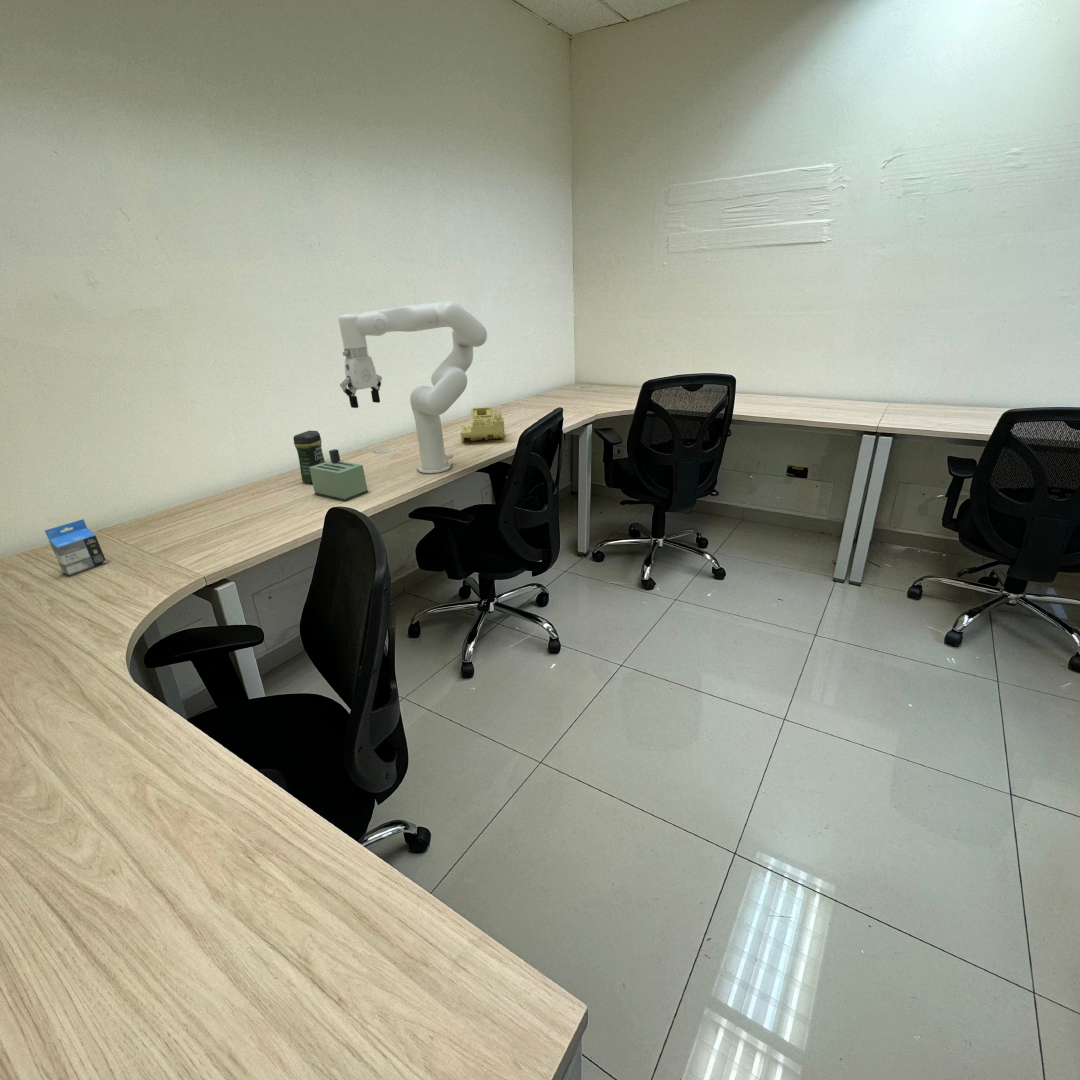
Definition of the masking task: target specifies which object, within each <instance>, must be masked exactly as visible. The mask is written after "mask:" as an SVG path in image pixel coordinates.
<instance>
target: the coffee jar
mask: <svg viewBox="0 0 1080 1080" xmlns="http://www.w3.org/2000/svg"><path fill="white" fill-rule="evenodd" d="M293 445H294V448H295V449H296V452H297V456H298V463H299V469H300V475H301V476H300V477H301V481H302V483H305V484H313V482H312V478H311V474H310V469H309V467H312V466H315V465H318V464H321V463H324V462H326V461H325V456H324V453H323V448H322V436H321V434H320V432H319V431H318V430H307V431H303V432H300V433H298V434H294V436H293Z"/></svg>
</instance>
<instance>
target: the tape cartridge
mask: <svg viewBox="0 0 1080 1080" xmlns="http://www.w3.org/2000/svg"><path fill="white" fill-rule="evenodd" d="M70 528H72V529H70ZM65 529H69V530H65ZM64 530H65V531H64ZM61 531H62V532H61ZM44 533H45V535H46V537H47V538H48V543H49V544H50V546H51V549H52V551H53V553H54V555H55V559H56V561H57V563H58V564H59V565H58V566H59V567H60V569H61V571H62V573H63V574H64V575H67V576H72V575H75V574H78V573H80V572H84V571H87V570H90V569H92V568H95V567H97V566H100V565H103V564H107V560H106V557H105V554H104V552H103V550H102V548H101V545H100V543H99V540H98V537H97V535H96V534H95V533H94V532H92V530H91V529H90V528H89V527H88V526H87V524H86V522H85V519H83V518H82V519H78V520H76V521H72V522H69V523H65V524H62V525H59V526H56V527H51V528H49V529H45V530H44Z"/></svg>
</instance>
